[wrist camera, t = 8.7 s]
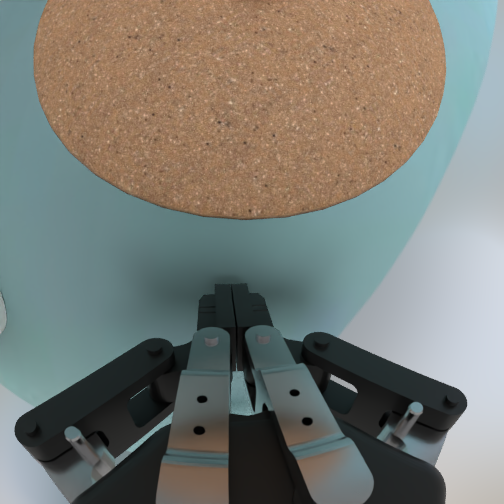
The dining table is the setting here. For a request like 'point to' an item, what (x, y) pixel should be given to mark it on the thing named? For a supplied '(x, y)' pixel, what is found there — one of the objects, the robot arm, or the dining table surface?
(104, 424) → the robot arm
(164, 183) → the lidded jar
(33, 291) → the dining table surface
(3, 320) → the cylindrical container
